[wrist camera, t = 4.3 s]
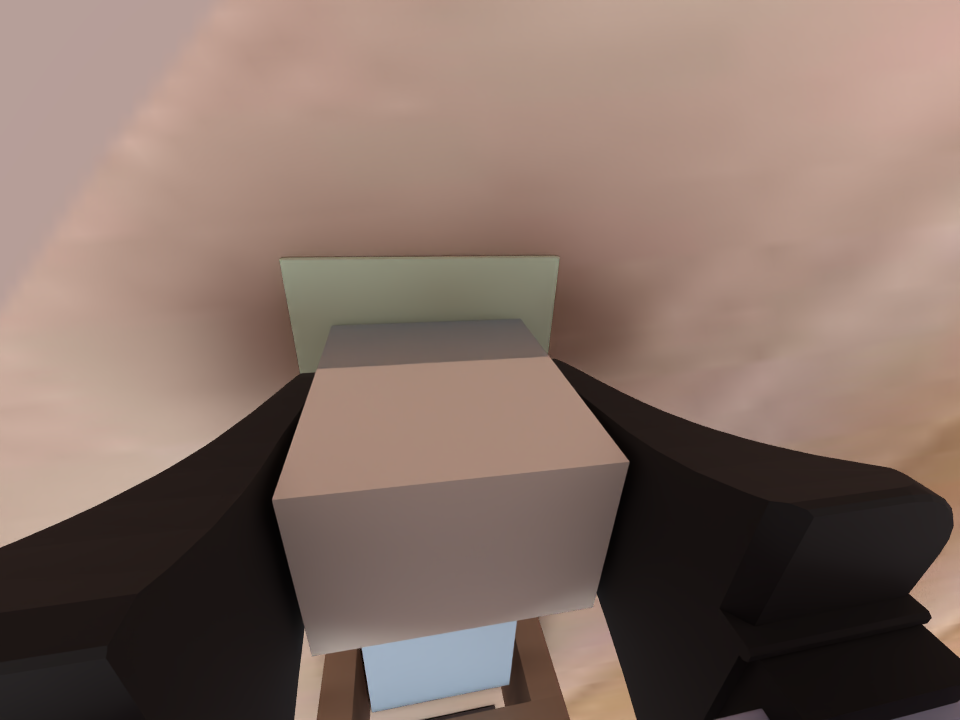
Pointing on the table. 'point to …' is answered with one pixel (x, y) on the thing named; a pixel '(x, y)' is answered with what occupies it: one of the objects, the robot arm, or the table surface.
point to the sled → (442, 502)
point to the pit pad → (464, 713)
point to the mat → (414, 294)
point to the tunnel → (526, 716)
